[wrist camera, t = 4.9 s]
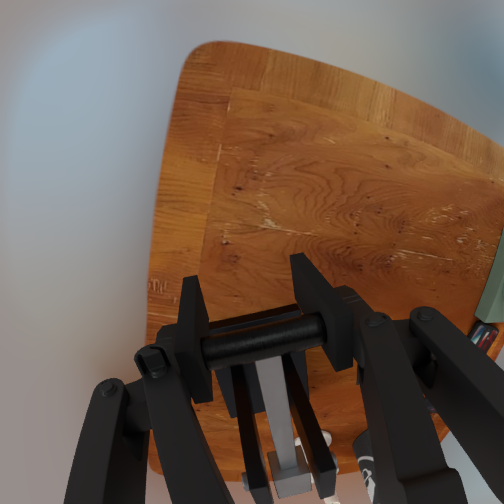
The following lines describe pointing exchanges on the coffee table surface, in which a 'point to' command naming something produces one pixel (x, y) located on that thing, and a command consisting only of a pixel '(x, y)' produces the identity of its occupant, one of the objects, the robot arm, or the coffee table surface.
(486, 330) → the smartphone
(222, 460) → the coffee table surface
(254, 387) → the bracket
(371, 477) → the coffee cup
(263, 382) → the lever
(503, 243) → the button box
